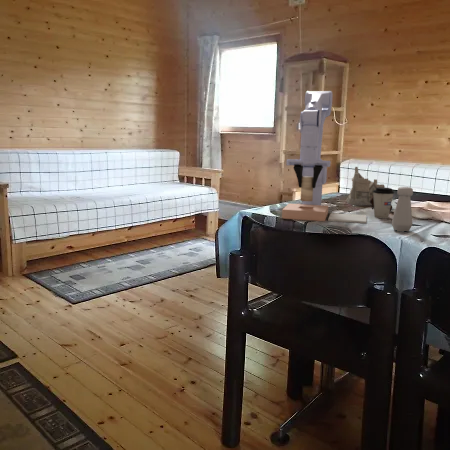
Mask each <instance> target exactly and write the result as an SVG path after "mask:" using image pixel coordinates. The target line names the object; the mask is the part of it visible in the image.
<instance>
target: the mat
mask: <svg viewBox="0 0 450 450" xmlns="http://www.w3.org/2000/svg"><path fill="white" fill-rule="evenodd" d="M327 219H328V220H327V221H328V222H338V223H339V222H340V223H341V222H342V223H354V224H355V223H356V224H358V223H359V224H367V215H366V214H363V215H362V214H353V213H351V214H350V213H337V212H336V213H334V212H331V213H330V214H329V217H328V218H327Z"/></svg>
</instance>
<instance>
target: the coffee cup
mask: <svg viewBox="0 0 450 450" xmlns="http://www.w3.org/2000/svg"><path fill="white" fill-rule="evenodd" d="M394 194H395V192H394V191H393V189H392V188H390V187H386V186H385V187H377V188H376V190H374V191H373V195H374V207H373V211H374V212H373V213H374V215H373V216H374V218H378V219H388V218H389V216H390V212H391V211H390V207H391V205H392V202H393V198H394Z"/></svg>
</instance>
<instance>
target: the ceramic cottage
mask: <svg viewBox="0 0 450 450" xmlns="http://www.w3.org/2000/svg"><path fill="white" fill-rule="evenodd" d="M351 181H352V183H351V184H352V186H351V189H350V192H349V194H348V195H347V198H346V199H345V201H346V203H347V205H354V206H372V205H371V203H370V199H371V197H372V196H373V191H374V190H376V188H377V187H385V188H386V186H385V184H378V179H373V181H371V180H370V179H369V178H365V177H363V176H362V174H361V173H359V167H358V166H355V167H354V174H353V177H352V178H351Z"/></svg>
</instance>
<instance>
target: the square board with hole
mask: <svg viewBox="0 0 450 450" xmlns="http://www.w3.org/2000/svg"><path fill="white" fill-rule="evenodd" d="M281 212H282V214H281V219H285V220H286V219H287V220H299V221H300V220H301V221H302V220H303V221H316V222H317V221H318V222H326V219H327V217H328V215H329V205H323V204H321V205H307V204H302V203H287V205H286V206H284V207H283V208H282V211H281Z"/></svg>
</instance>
